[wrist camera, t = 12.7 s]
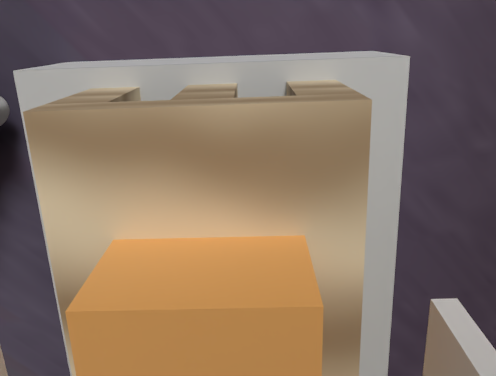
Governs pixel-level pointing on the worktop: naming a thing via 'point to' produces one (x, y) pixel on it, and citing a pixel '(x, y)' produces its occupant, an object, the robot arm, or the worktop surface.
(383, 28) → the worktop surface
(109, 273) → the orange square block
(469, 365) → the robot arm
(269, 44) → the worktop surface
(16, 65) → the worktop surface
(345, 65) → the dock
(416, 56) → the worktop surface
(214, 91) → the pallet
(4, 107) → the white lumpy piece
